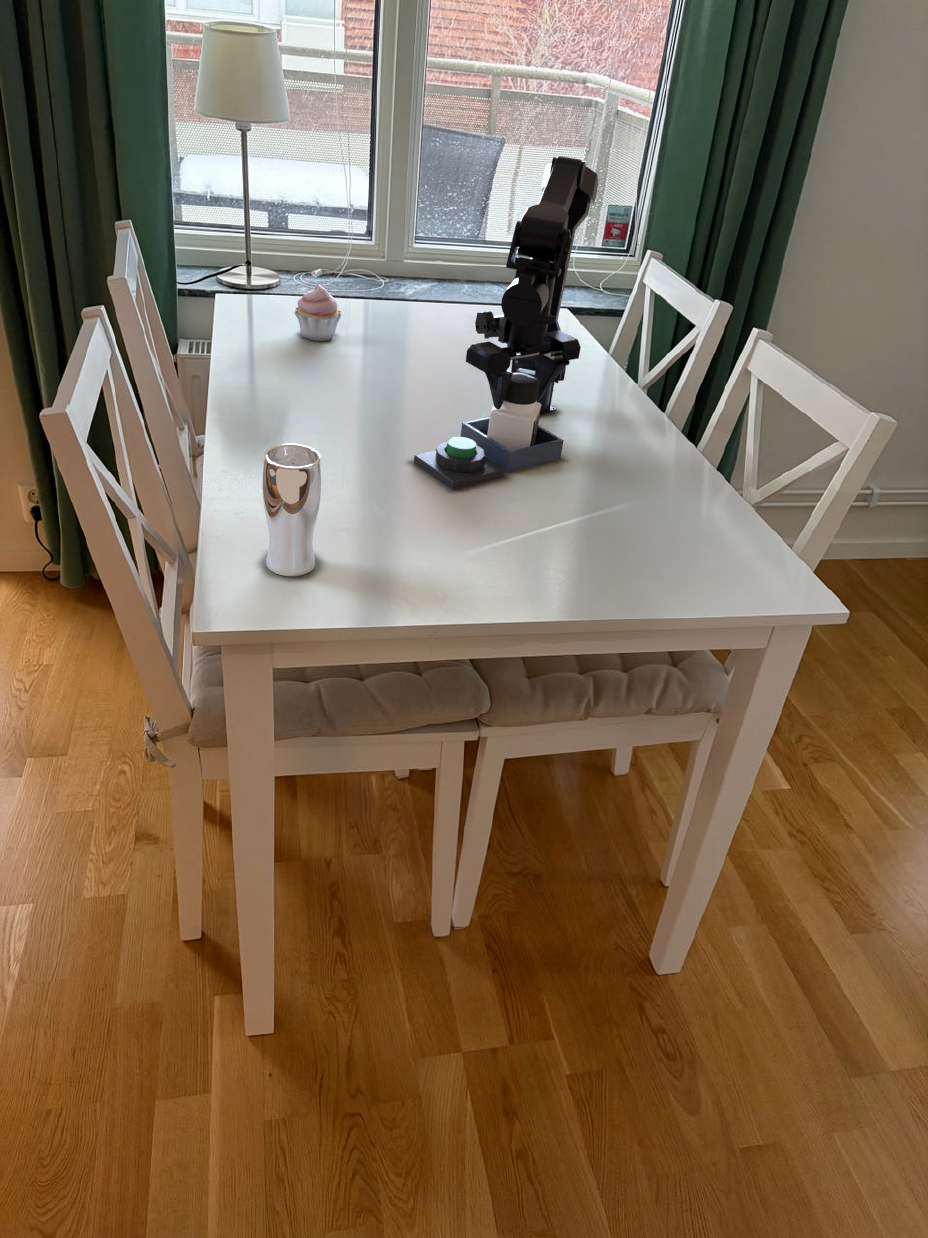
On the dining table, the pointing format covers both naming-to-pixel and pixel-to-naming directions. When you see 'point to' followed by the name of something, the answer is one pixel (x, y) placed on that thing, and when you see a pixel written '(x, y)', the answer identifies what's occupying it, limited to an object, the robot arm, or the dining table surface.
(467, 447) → the button
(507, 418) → the medicine bottle
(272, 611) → the dining table surface
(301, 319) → the cupcake
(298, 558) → the beer glass
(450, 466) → the control panel
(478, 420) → the blue-grey tray
